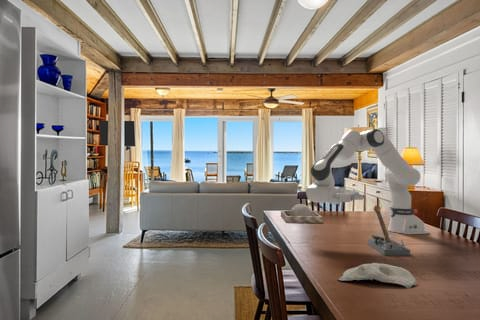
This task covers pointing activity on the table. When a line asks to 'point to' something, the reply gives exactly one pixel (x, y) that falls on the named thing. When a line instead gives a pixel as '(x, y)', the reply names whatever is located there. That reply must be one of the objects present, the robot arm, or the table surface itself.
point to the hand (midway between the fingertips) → (364, 197)
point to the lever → (382, 224)
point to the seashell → (301, 210)
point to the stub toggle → (403, 244)
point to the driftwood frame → (301, 218)
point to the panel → (388, 247)
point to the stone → (380, 274)
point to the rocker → (377, 237)
